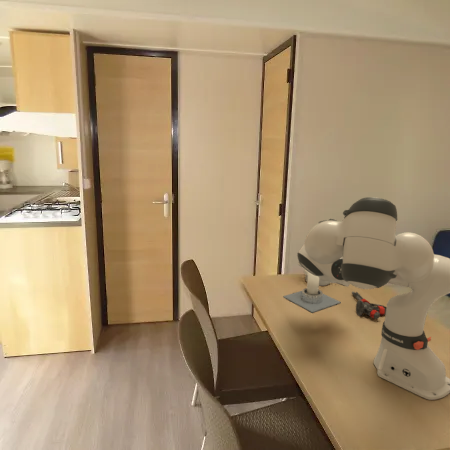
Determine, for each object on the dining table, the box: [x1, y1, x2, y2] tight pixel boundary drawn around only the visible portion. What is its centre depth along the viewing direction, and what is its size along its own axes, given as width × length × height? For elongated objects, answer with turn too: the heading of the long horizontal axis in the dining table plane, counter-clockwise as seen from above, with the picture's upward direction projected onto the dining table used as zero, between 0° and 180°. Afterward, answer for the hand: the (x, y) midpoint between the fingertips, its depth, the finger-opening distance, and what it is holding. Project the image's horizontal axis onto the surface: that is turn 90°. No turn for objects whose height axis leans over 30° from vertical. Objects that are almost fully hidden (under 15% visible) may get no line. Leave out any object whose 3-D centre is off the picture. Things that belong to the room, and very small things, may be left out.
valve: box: [351, 290, 387, 320], centre depth 159 cm, size 6×26×15 cm
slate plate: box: [283, 290, 342, 314], centre depth 165 cm, size 18×18×1 cm
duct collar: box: [301, 287, 324, 304], centre depth 165 cm, size 9×9×4 cm
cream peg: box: [303, 268, 320, 295], centre depth 165 cm, size 8×5×14 cm, turn 18°
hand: (320, 270), depth 147 cm, fingers open, 8 cm apart
